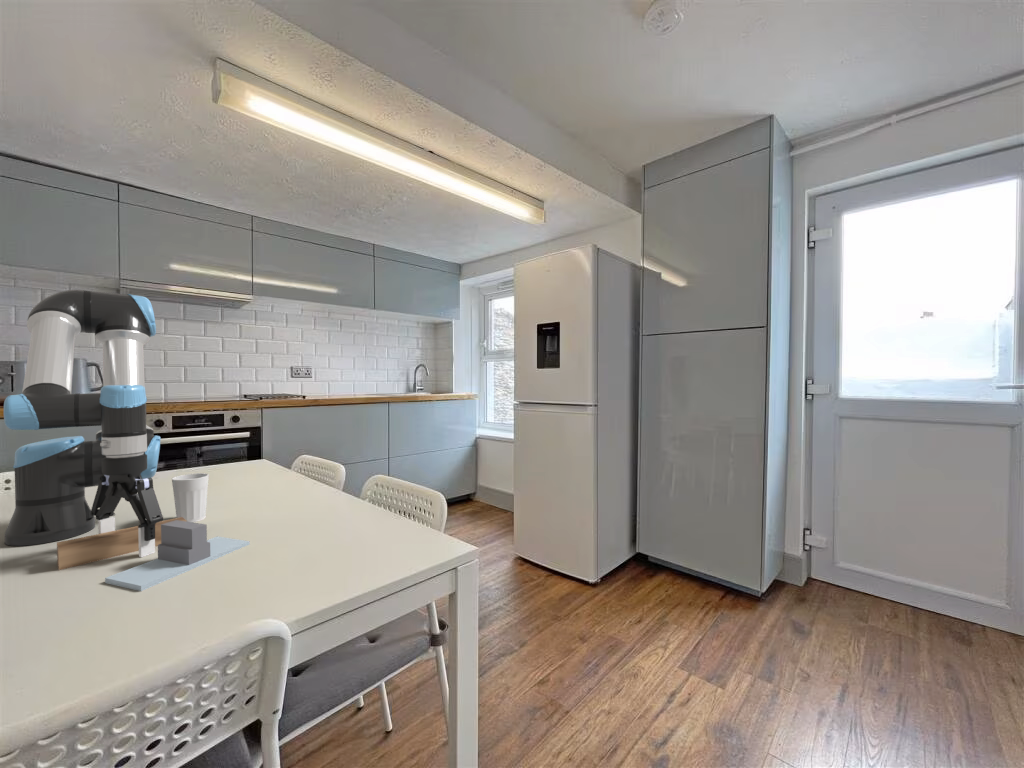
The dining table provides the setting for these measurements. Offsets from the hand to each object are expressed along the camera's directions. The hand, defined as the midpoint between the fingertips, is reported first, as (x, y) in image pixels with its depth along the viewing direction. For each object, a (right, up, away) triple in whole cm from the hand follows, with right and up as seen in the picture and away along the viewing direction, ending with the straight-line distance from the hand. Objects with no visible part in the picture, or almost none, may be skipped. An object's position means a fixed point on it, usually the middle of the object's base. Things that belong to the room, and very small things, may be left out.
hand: (126, 551), depth 96 cm
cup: (-1, 0, +20) cm, 20 cm away
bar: (0, 0, 0) cm, 0 cm away
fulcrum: (+17, 0, -6) cm, 18 cm away
